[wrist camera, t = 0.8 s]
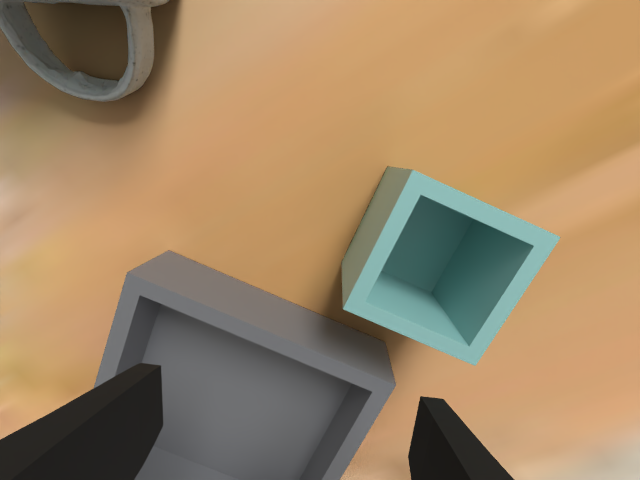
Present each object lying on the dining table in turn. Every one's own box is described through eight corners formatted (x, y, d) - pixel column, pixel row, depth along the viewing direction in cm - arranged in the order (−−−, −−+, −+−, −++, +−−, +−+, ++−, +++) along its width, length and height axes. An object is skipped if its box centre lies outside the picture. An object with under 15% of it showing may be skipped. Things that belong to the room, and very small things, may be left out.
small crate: (485, 211, 16) (560, 237, 10) (432, 301, 17) (475, 365, 12) (387, 166, 15) (413, 169, 10) (341, 261, 17) (342, 309, 12)
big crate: (385, 342, 18) (396, 385, 14) (297, 499, 21) (289, 564, 18) (168, 250, 17) (127, 272, 14) (112, 426, 20) (67, 479, 17)
